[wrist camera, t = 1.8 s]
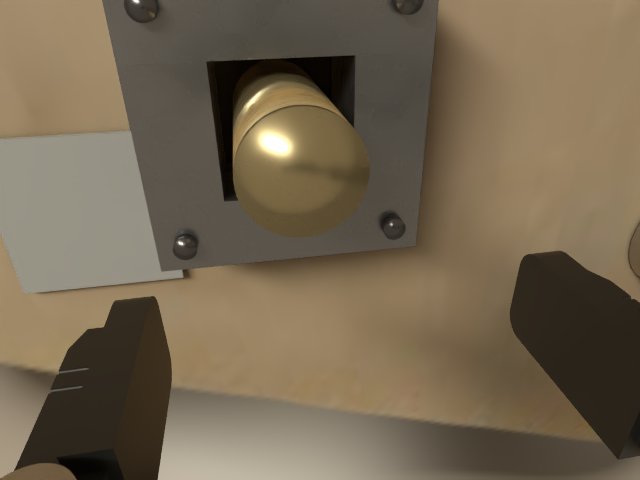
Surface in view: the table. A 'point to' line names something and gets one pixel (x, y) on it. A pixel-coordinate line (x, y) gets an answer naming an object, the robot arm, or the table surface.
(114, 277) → the rubber mat
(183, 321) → the table surface
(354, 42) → the grey square socket block
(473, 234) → the table surface
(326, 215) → the brass cylindrical shaft
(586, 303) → the robot arm
